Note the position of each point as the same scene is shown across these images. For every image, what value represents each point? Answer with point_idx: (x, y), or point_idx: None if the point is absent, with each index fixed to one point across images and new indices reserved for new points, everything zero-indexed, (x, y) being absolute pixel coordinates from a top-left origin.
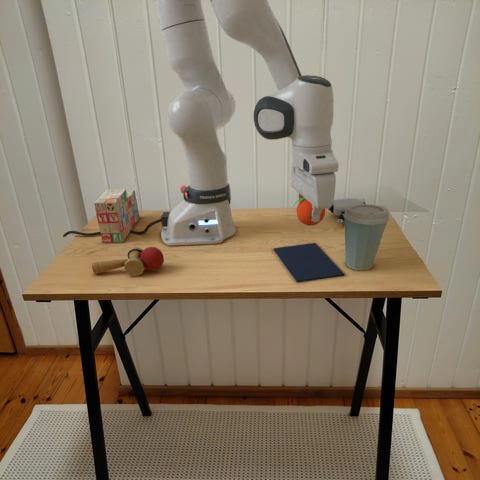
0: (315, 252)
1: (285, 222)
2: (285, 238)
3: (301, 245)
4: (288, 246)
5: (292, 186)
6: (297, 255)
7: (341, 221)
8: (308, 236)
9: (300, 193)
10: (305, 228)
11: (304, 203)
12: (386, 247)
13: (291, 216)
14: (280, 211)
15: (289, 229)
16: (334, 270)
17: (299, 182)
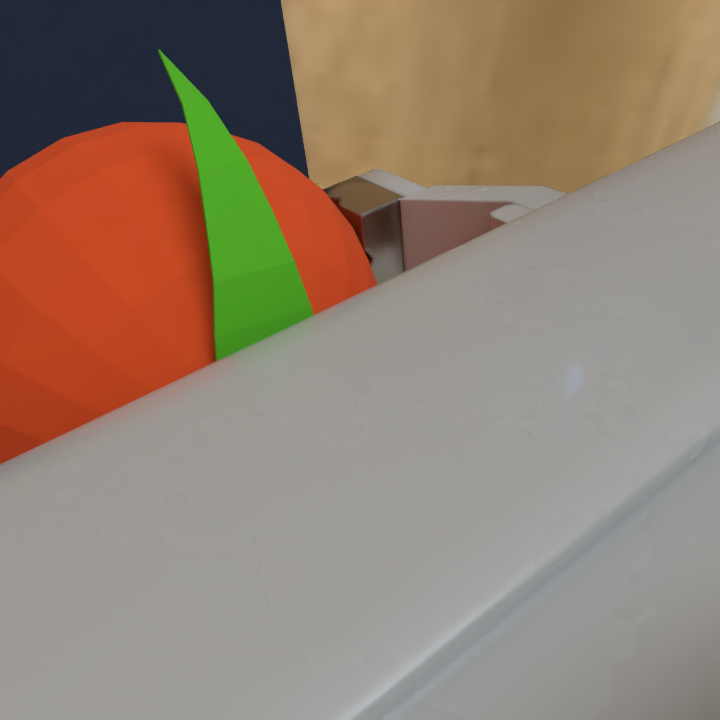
0: None
1: (607, 40)
2: (421, 5)
3: (286, 115)
4: (278, 4)
5: (716, 130)
6: (105, 63)
7: None
8: (417, 171)
9: (397, 284)
10: (511, 158)
11: (119, 330)
12: None
13: (650, 87)
14: (716, 29)
15: (526, 54)
16: None
17: (631, 343)
